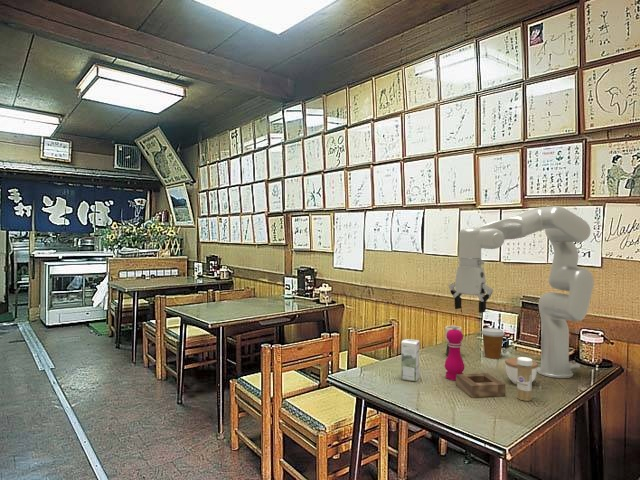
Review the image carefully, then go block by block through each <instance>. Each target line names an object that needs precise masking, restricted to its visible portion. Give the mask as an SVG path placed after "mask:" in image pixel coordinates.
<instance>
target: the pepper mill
mask: <svg viewBox="0 0 640 480" xmlns="http://www.w3.org/2000/svg"><path fill="white" fill-rule="evenodd" d="M452 326H453V327H452V329H451V330H449V331H448V332H447V335H446V337H447V339H448V341H449V342H447V344H448V346H449V355H447V357H446V359H445V362H444V368H445V370H446V372H445V377H446V379H448V380H451V381H456V374H464V373H463V372H464V370H465V362H464V360H463V357H462V355H460V354H461V348H462V341H463V339H464V335H463V331H462V332H461V331H459V330H457V326H458V325H455V324H454V325H452Z"/></svg>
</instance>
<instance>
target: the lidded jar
mask: <svg viewBox="0 0 640 480" xmlns="http://www.w3.org/2000/svg"><path fill="white" fill-rule="evenodd" d="M517 358H518V357H509V358H506V359H505V361H504V362H505V371H506V375H507V377H508V379H509V380H510V381H511V382H512V383H513V384H515V385H517V378H518V364H517ZM537 367H538V363H537V362H536V361H534V360H532V382H534V380H535V379H536V377H537V373H538V372H537Z"/></svg>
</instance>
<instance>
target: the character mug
mask: <svg viewBox="0 0 640 480" xmlns="http://www.w3.org/2000/svg"><path fill="white" fill-rule="evenodd" d="M453 326H454V325H446V326H445V328H444V340H445V342H447V344H446V351H445V355H446V356H448V355H449V346H448V342H449V341H448V339H447V337H446V335H447V332H448V331H449V330H451V329H452V327H453ZM456 326H457V330H459V331H461V332H462V333H463V330H462V329H463V328H462V327H461V326H460V325H459V326H458V325H456ZM460 355H461V353H460ZM461 356H462V355H461Z"/></svg>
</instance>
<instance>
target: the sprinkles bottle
mask: <svg viewBox="0 0 640 480" xmlns="http://www.w3.org/2000/svg"><path fill="white" fill-rule="evenodd" d="M516 358H517V364H518V378H517V384H516V388H517V389H516V390H517V392H516V393H517V394H516V397H517V399H518V400H520V401H523V402H524V401H525V402H529V401H532V399H533V397H532V390H533V383H532V382H533V381H532V361H533V359H532V358H530V357H525V356H519V357H516Z"/></svg>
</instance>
